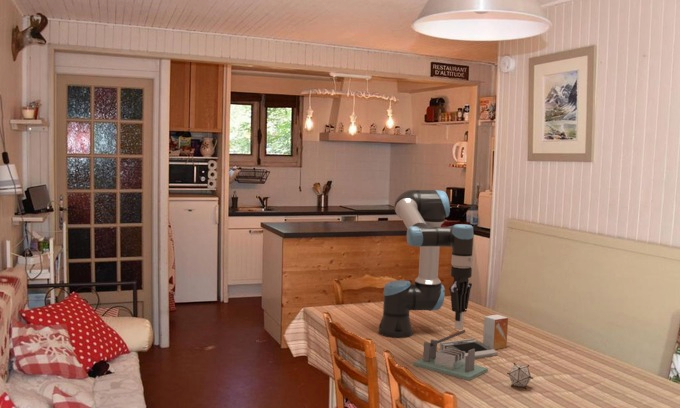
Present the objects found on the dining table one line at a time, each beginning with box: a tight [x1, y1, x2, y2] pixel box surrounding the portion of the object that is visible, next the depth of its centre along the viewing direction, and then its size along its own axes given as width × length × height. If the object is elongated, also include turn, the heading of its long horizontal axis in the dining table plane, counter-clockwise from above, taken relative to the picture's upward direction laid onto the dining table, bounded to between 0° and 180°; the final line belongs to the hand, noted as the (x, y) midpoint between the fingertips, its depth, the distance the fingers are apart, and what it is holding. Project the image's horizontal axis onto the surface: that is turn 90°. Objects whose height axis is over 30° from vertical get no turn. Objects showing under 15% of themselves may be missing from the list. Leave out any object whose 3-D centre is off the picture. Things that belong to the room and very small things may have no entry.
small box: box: [482, 314, 509, 350], centre depth 280 cm, size 8×6×13 cm
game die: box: [506, 362, 534, 390], centre depth 233 cm, size 9×8×10 cm
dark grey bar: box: [430, 329, 466, 346], centre depth 252 cm, size 17×3×2 cm, turn 50°
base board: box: [412, 338, 489, 381], centre depth 250 cm, size 24×14×9 cm, turn 50°
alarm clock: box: [439, 337, 498, 360], centre depth 271 cm, size 17×5×16 cm
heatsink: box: [435, 347, 465, 370], centre depth 251 cm, size 8×9×6 cm
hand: (458, 328), depth 248 cm, fingers closed
